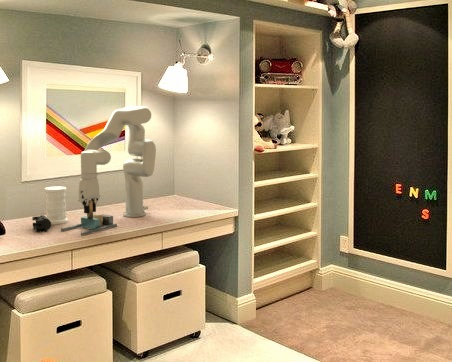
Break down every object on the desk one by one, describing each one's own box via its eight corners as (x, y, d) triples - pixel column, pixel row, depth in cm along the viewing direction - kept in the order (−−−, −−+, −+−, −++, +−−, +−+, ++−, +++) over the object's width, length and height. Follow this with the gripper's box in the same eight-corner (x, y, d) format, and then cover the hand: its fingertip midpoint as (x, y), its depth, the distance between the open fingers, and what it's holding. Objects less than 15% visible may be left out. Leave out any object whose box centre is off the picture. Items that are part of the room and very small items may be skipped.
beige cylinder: (97, 224, 290) (97, 213, 289) (104, 226, 288) (104, 214, 287) (90, 226, 286) (90, 215, 285) (97, 228, 283) (97, 216, 283)
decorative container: (72, 220, 299) (71, 187, 296) (57, 225, 288) (56, 190, 286) (55, 218, 304) (54, 185, 301) (40, 222, 293) (38, 188, 291)
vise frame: (95, 222, 296) (95, 212, 295) (117, 226, 288) (117, 216, 287) (61, 230, 277) (60, 220, 276) (83, 235, 269) (83, 225, 268)
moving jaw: (85, 225, 287) (84, 198, 284) (99, 228, 281) (99, 201, 279) (81, 227, 284) (80, 199, 282) (95, 229, 279) (94, 202, 277)
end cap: (51, 231, 276) (51, 217, 275) (36, 233, 272) (36, 219, 271) (47, 227, 285) (46, 214, 284) (32, 228, 281) (32, 215, 280)
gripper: (95, 173, 288) (96, 208, 290) (70, 177, 274) (72, 214, 277) (106, 174, 284) (107, 210, 286) (81, 178, 270) (82, 216, 273)
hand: (90, 212), depth 281 cm, fingers open, 3 cm apart
